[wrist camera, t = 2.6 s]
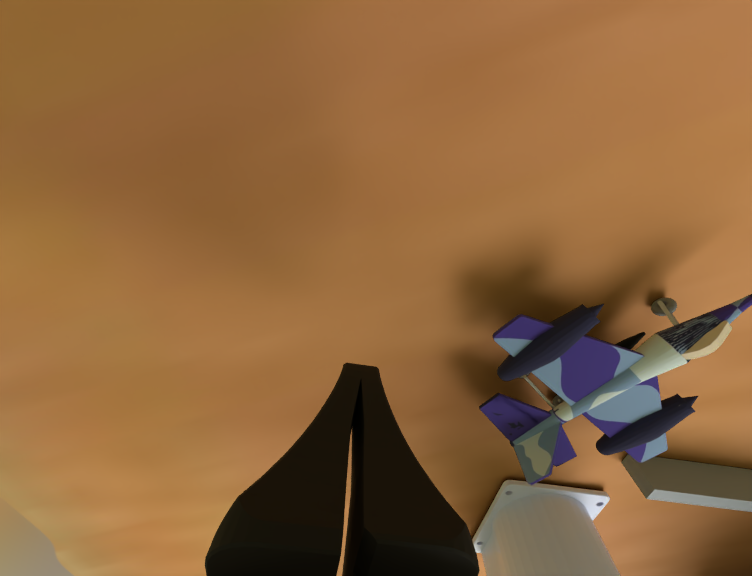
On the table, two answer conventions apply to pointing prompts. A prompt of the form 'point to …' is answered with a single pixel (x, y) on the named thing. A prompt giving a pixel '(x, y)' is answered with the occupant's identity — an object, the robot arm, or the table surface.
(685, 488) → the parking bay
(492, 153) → the table surface
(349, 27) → the table surface
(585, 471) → the table surface
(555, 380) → the toy airplane
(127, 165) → the table surface
